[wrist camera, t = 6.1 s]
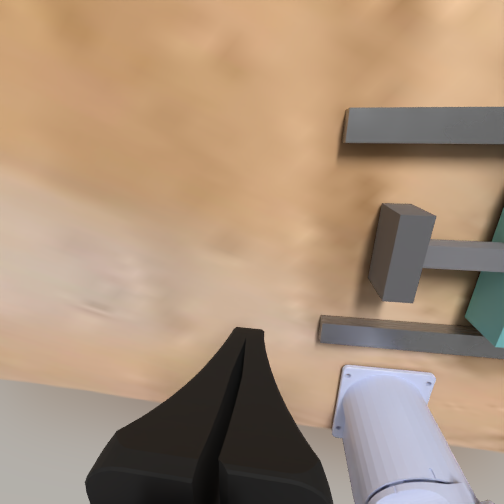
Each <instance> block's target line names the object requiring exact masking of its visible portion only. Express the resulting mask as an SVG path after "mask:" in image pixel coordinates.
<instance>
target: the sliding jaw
mask: <svg viewBox="0 0 504 504" xmlns="http://www.w3.org/2000/svg"><path fill="white" fill-rule="evenodd" d="M435 219H436V216H435V215H433V214H431V213H429V212H427V211H425V210H423V209H420V208H418V207H416V206H414V205H412V204H390V203H382V206H381V211H380V217H379V222H378V227H377V233H376V238H375V243H374V249H373V254H372V259H371V265H370V270H369V275H368V279H369V280H370V282H371V283H372V285H373V287H374V288H375V290H376V292H377V293H378V295H379V297H380V298H381V300H382V301H388V302H402V303H413V302H414V298H415V294H416V291H417V287H418V283H419V279H420V276H421V272H422V268H434V269H452V270H469V271H481V273H480V275H479V278H478V281H477V284H476V287H475V289H474V292H473V295H472V298H471V301H470V303H469V306H468V309H467V312H466V315H465V318H466V319H467V320H468V321H469V322H470V323H471V324H472V325H473V326H474V327H475V328H476V329H477V330H478V331H479V332H480V333H481V334H482V335H483V336H484V337H485V338H486V339H487V340H489V341H490V342H491V343H492V344H493V345H494V346H495V347H501V348H504V208H503V211H502V214H501V217H500V219H499V222H498V225H497V228H496V231H495V233H494V236H493V239H492V242H479V241H457V240H435V239H430V238H431V234H432V231H433V227H434V223H435Z"/></svg>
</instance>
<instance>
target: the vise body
mask: <svg viewBox="0 0 504 504" xmlns="http://www.w3.org/2000/svg"><path fill="white" fill-rule="evenodd" d="M342 143H416V144H504V107H399V108H349V109H347V110H346V114H345V122H344V130H343V138H342ZM319 339H320V343H329V344H340V345H351V346H363V347H374V348H385V349H397V350H408V351H419V352H430V353H442V354H453V355H464V356H476V357H487V358H498V359H504V348H501V347H495V346H494V345H493V344H492V343H491V342H490V341H489V340H487V339H486V338H485V337H484V336H483V335H482V334H481V333H480V332H479V331H478V330H477V329H476V328H475V327H468V326H455V325H442V324H429V323H416V322H403V321H390V320H378V319H365V318H352V317H339V316H326V315H321V319H320V327H319Z"/></svg>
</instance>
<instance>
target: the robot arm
mask: <svg viewBox="0 0 504 504" xmlns="http://www.w3.org/2000/svg"><path fill="white" fill-rule="evenodd" d="M346 374H349V375H346ZM435 381H436V378H435V376H434V375H433V374H432V373H428V372H418V371H408V370H397V369H387V368H377V367H366V366H356V365H345V366H344V367H343V369H342V374H341V380H340V386H339V392H338V398H337V403H336V409H335V415H334V421H333V427H332V435H333V436H334V437H337V438H342V439H343V444H344V450H345V454H346V460H347V465H348V471H349V476H350V482H351V487H352V493H353V498H354V502H355V504H494V503H493V502H492V501H490V500H486V501H482V502H479V500H478V499H477V498H476V496H475V494H474V492H473V490H472V489H471V487H470V485H469V483H468V481H467V479H466V477H465V475H464V474H463V472H462V470H461V468H460V466H459V464H458V462H457V460H456V459H455V457H454V455H453V453H452V451H451V449H450V447H449V445H448V443H447V442H446V440H445V438H444V436H443V434H442V432H441V430H440V428H439V427H438V425H437V423H436V421H435V419H434V417H433V415H432V413H431V412H430V410H429V408H428V406H427V404H428V401H429V398H430V395H431V392H432V389H433V386H434V383H435ZM427 382H428V383H427ZM85 485H86V492H87V495H88V498H89V501H90V504H333V500H332V496H331V492H330V488H329V485H328V481H327V478H326V475H325V472H324V470H323V467H322V464H321V462H320V460H319V458H318V457H317V455H316V454H315V453H314V451H313V450H312V449H311V447H310V445H309V444H308V442H307V441H306V439H305V438H304V437H303V435H302V433H301V432H300V430H299V429H298V427H297V425H296V423H295V421H294V420H293V418H292V416H291V414H290V412H289V411H288V409H287V407H286V405H285V403H284V401H283V399H282V397H281V394H280V392H279V390H278V387H277V385H276V382H275V380H274V377H273V374H272V371H271V368H270V365H269V361H268V358H267V354H266V349H265V343H264V331H263V330H261V329H251V328H241V327H236V328H235V329H234V330H233V331H232V333H231V334H230V336H229V337H228V339H227V340H226V342H225V343H224V344H223V346H222V347H221V348H220V349H219V351H218V352H217V353H216V354H215V355H214V357H213V358H212V359H211V360H210V361H209V362H208V363H207V364H206V365H205V367H204V368H203V369H202V370H201V371H200V372H199V373H198V374H197V375H196V376H195V377H194V378H193V379H191V380H190V381H189V382H188V383H187V384H186V385H185V386H184V387H182V388H181V389H180V390H179V391H178V392H176V393H175V394H174V395H173V396H171V397H170V398H169V399H167V400H166V401H165V402H163V403H162V404H160V405H159V406H157V407H156V408H155V409H153V410H152V411H150V412H149V413H147V414H146V415H144V416H142V417H141V418H139V419H137V420H136V421H134V422H132V423H130V424H129V425H127V426H125V427H123V428H121V429H120V430H118V431H116V433H115V434H114V436H113V437H112V438H111V440H110V441H109V442H108V444H107V445H106V447H105V448H104V449H103V451H102V453H101V454H100V456H99V457H98V459H97V461H96V462H95V464H94V466H93V467H92V469H91V471H90V472H89V474H88V476H87V478H86V481H85Z"/></svg>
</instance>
